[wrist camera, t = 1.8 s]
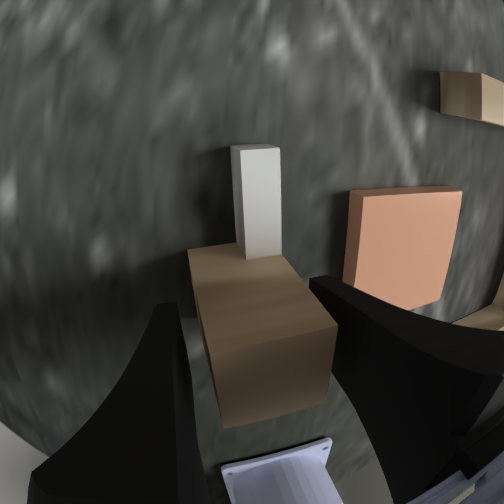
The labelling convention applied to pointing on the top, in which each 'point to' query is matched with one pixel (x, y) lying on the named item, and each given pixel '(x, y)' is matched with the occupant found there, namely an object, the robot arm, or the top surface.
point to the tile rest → (485, 110)
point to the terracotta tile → (401, 242)
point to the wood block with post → (259, 306)
